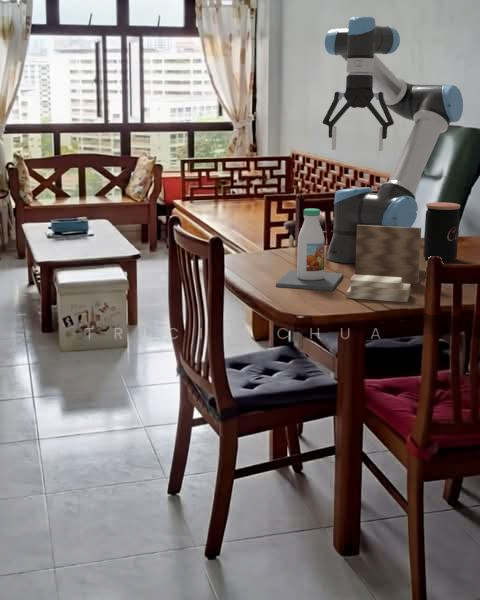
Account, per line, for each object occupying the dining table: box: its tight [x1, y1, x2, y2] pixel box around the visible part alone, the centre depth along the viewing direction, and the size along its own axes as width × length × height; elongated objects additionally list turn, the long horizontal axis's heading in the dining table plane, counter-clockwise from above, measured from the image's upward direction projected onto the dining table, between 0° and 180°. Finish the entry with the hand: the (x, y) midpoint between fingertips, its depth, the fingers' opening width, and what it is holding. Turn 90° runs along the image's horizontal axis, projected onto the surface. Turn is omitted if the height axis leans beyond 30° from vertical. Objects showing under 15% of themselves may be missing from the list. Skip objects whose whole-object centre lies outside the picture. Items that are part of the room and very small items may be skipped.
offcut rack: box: [345, 225, 422, 303], centre depth 233 cm, size 18×26×16 cm
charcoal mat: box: [275, 269, 344, 292], centre depth 243 cm, size 16×18×1 cm
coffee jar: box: [422, 201, 461, 263], centre depth 272 cm, size 11×11×18 cm
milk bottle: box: [296, 207, 326, 281], centre depth 240 cm, size 8×8×20 cm
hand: (356, 150), depth 244 cm, fingers open, 13 cm apart
